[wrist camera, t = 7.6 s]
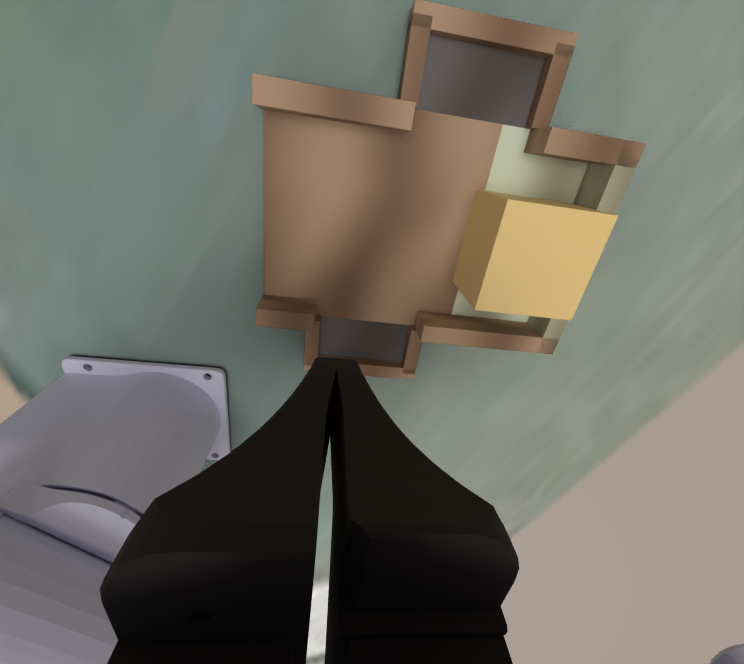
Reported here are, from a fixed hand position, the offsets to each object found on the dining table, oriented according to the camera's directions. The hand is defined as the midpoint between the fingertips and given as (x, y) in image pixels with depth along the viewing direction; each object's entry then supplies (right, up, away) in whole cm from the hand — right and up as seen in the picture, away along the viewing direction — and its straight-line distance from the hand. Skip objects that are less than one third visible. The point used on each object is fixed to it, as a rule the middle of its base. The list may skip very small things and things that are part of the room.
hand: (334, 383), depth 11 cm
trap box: (+4, +7, +8) cm, 11 cm away
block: (+9, +7, +8) cm, 13 cm away
